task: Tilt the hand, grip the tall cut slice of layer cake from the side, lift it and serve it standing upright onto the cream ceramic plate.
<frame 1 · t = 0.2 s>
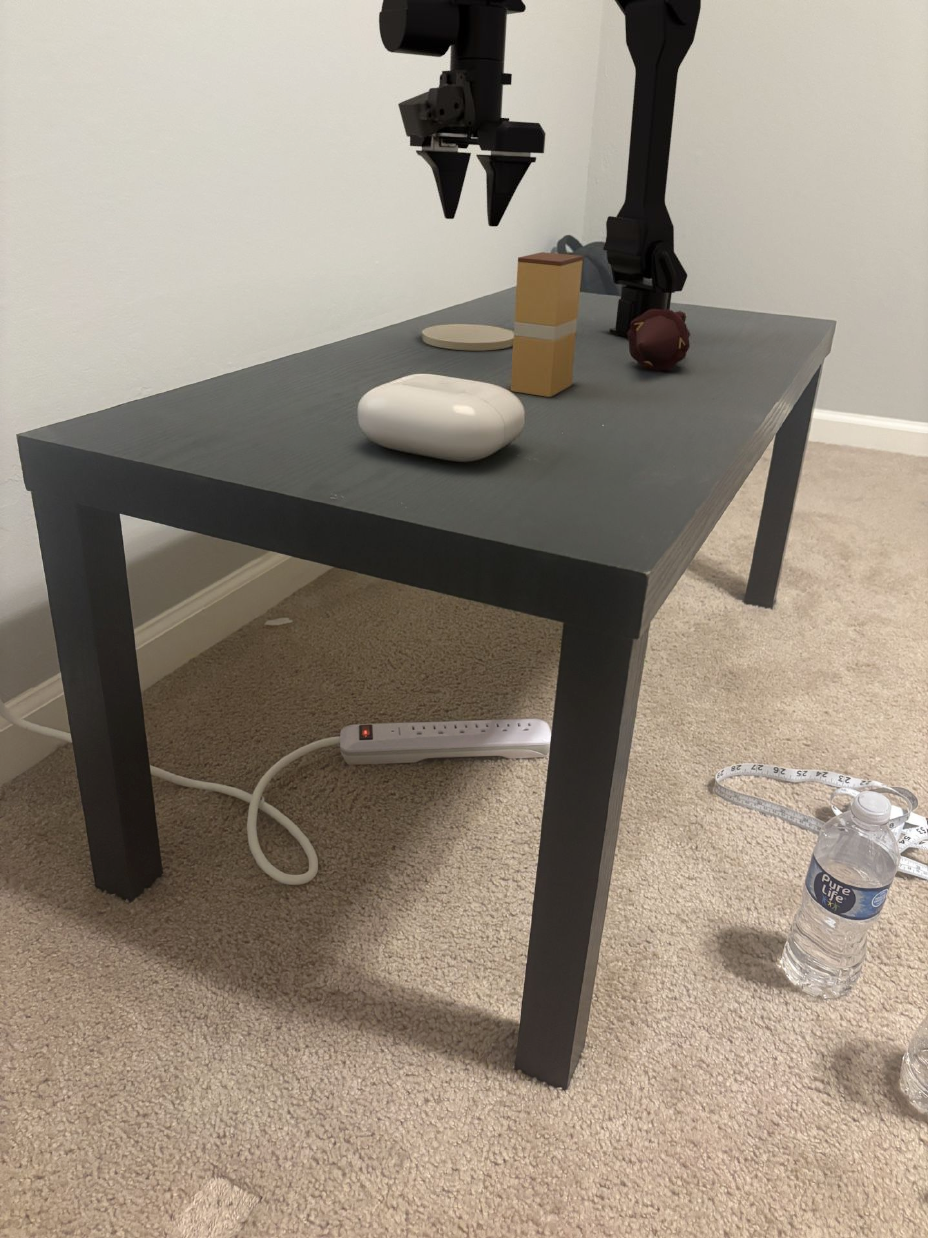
hand: (470, 222, 102), 15 cm above the table, tool pointing down, fingers open, 9 cm apart
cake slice: (541, 388, 95), on the table
earbud case: (440, 450, 76), on the table
plate: (468, 340, 116), on the table
maroon dungeon die: (655, 370, 105), on the table
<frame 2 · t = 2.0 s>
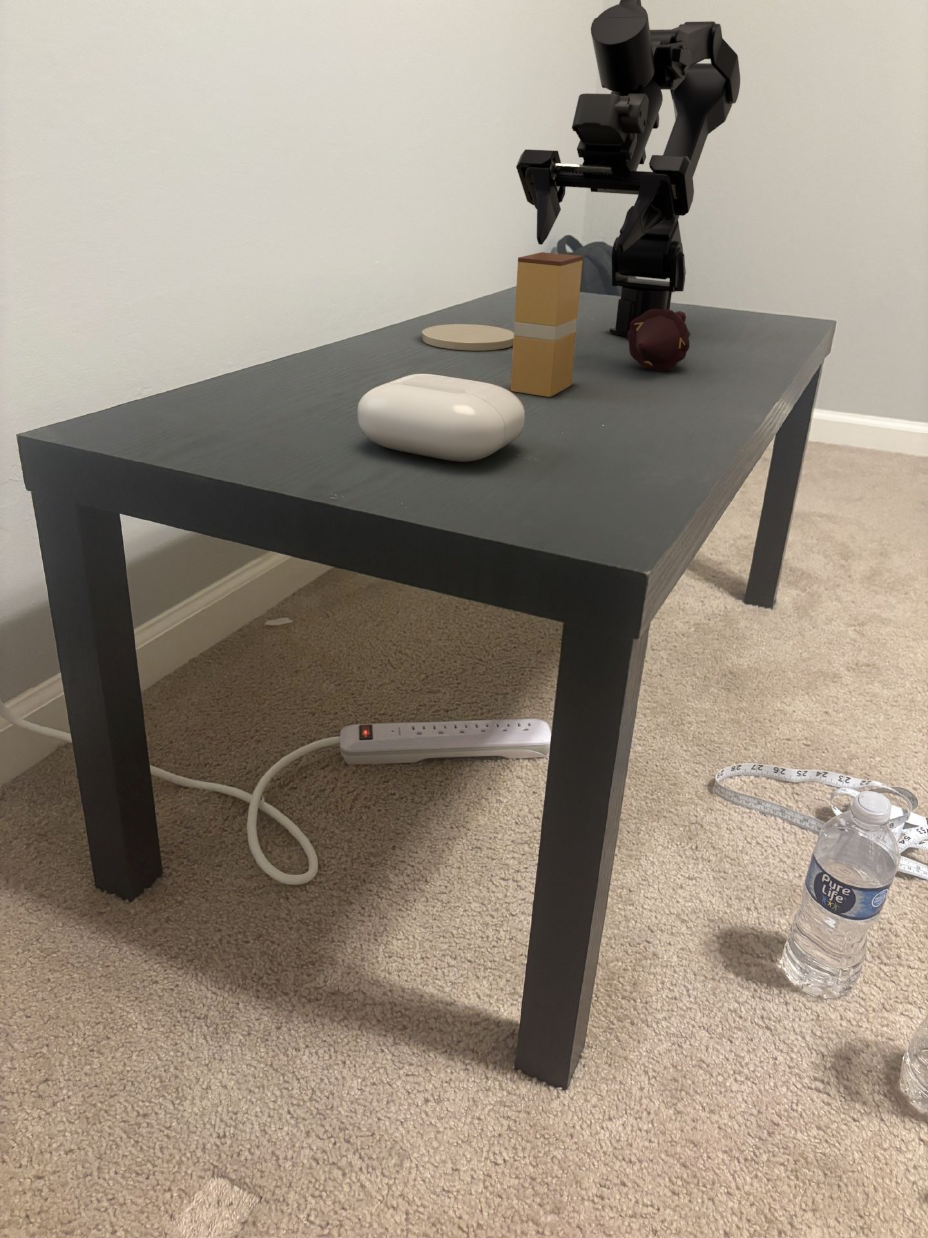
hand: (579, 245, 95), 13 cm above the table, tool tilted 45°, fingers open, 9 cm apart
nothing on the table moved.
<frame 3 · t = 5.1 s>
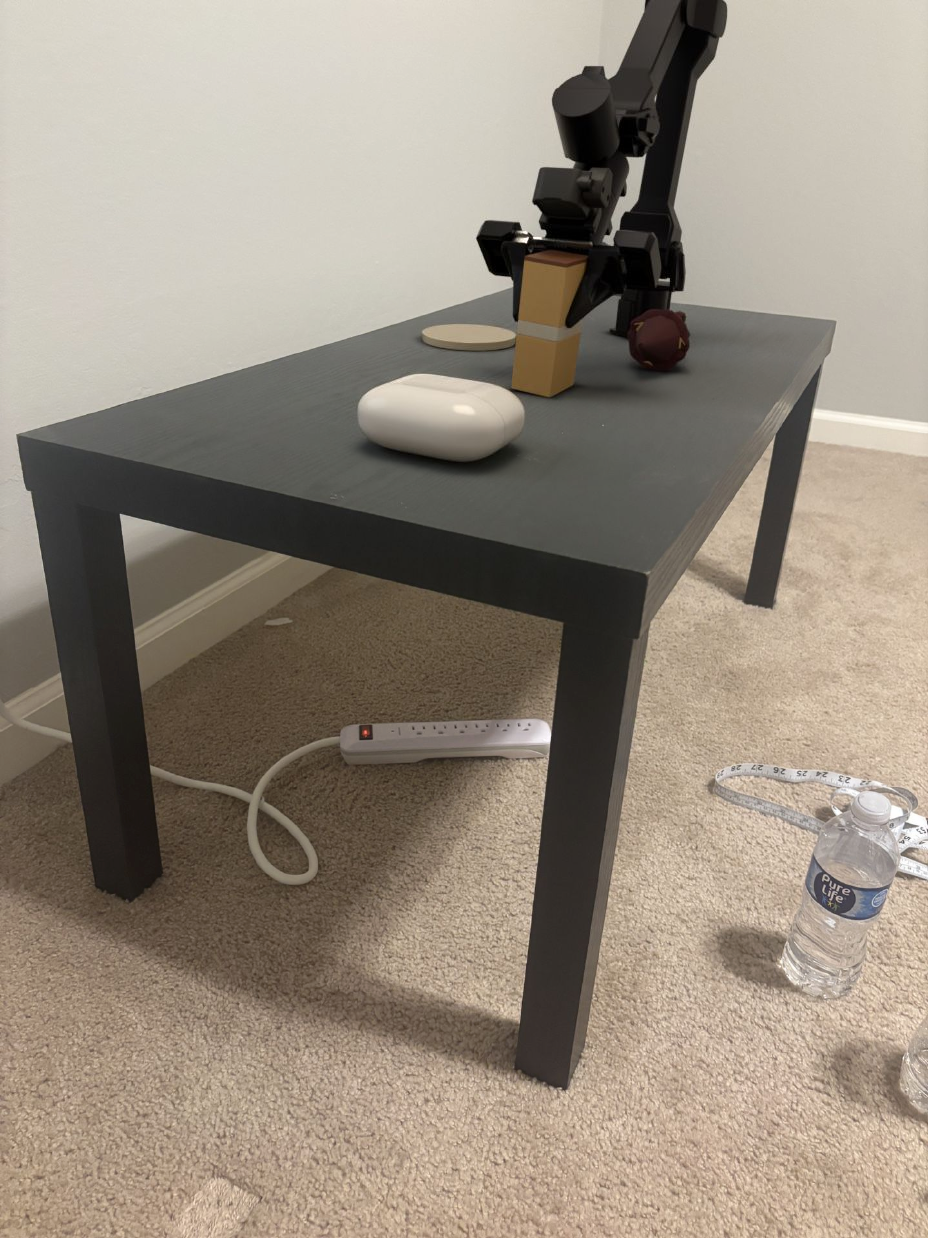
hand: (540, 322, 91), 7 cm above the table, tool tilted 45°, fingers closed on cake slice, 5 cm apart
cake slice: (542, 386, 95), on the table, touching gripper
everything else where it was.
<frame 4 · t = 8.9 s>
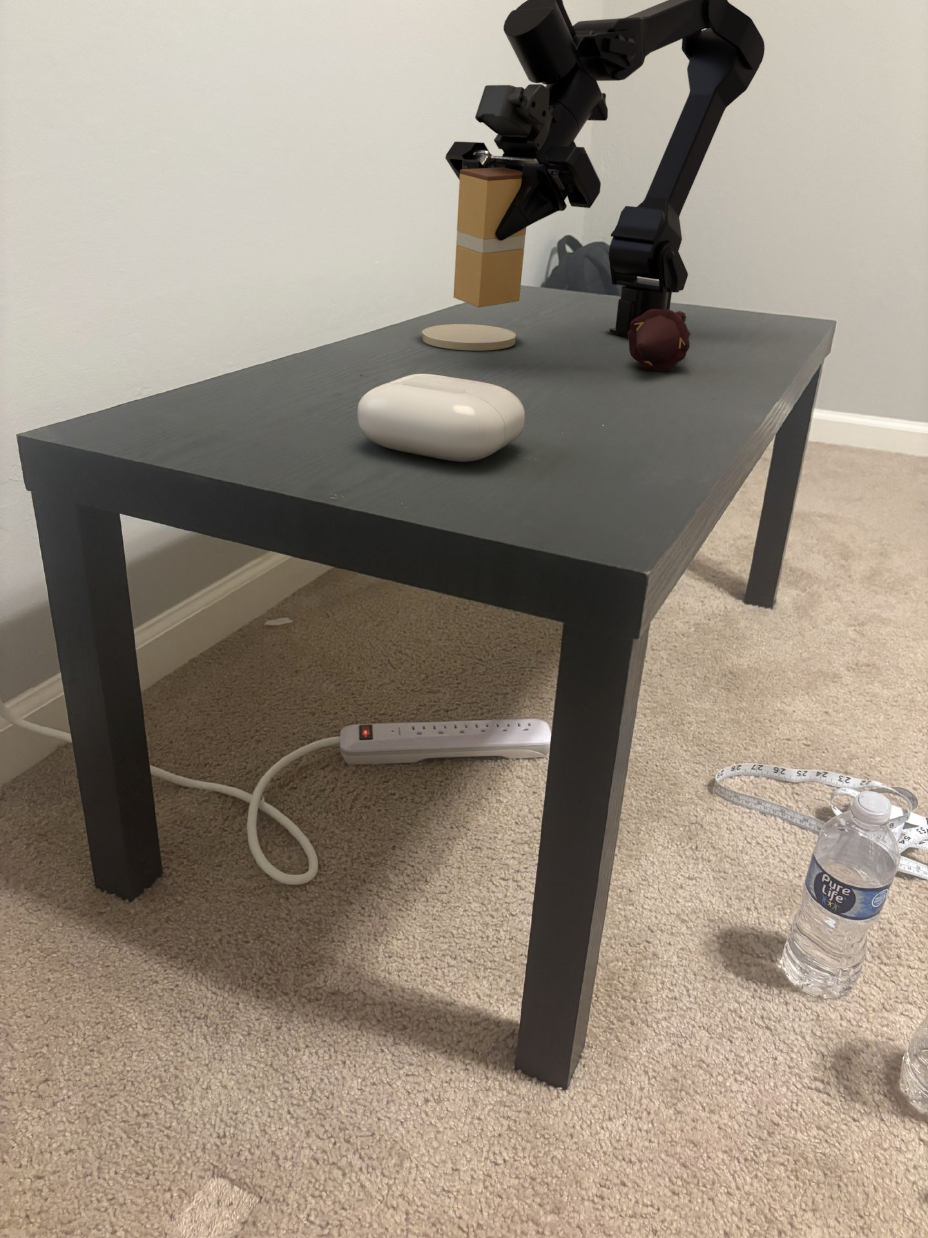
hand: (479, 234, 97), 14 cm above the table, tool tilted 45°, fingers closed on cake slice, 5 cm apart
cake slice: (486, 299, 101), point 7 cm above the table, tilted 6°, touching gripper
everything else where it was.
when the fingers open (8 cm above the table, at t = 13.1 s): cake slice stays where it is, resting on plate.
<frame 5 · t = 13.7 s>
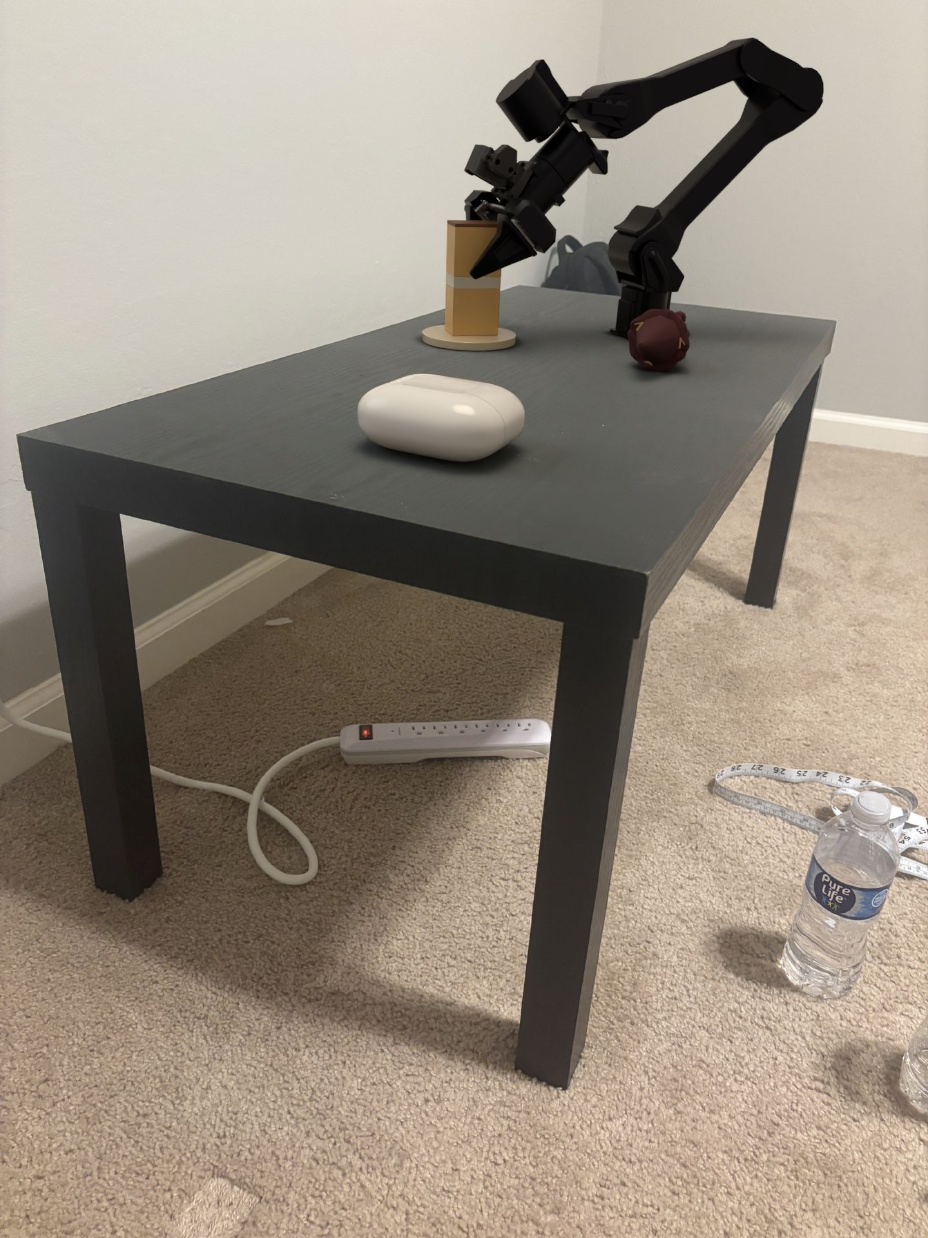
hand: (460, 271, 112), 8 cm above the table, tool tilted 45°, fingers open, 9 cm apart
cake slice: (471, 331, 116), point 1 cm above the table, touching plate
everything else where it was.
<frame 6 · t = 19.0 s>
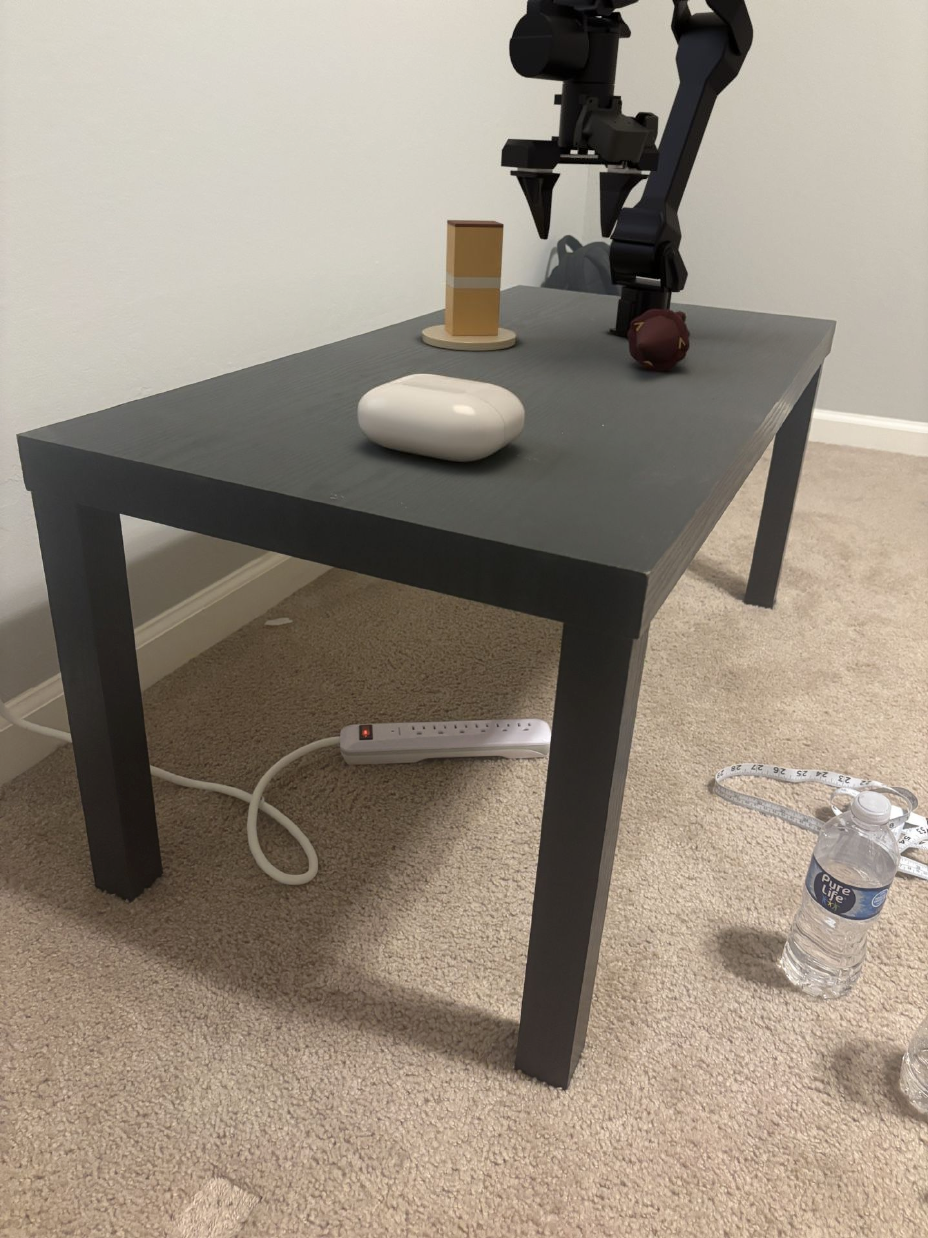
hand: (575, 238, 106), 13 cm above the table, tool pointing down, fingers open, 9 cm apart
nothing on the table moved.
at the end: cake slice 0.6 cm off-centre on the plate, point 1.0 cm above the plate's base; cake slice tilted 0°; the gripper is holding nothing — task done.
